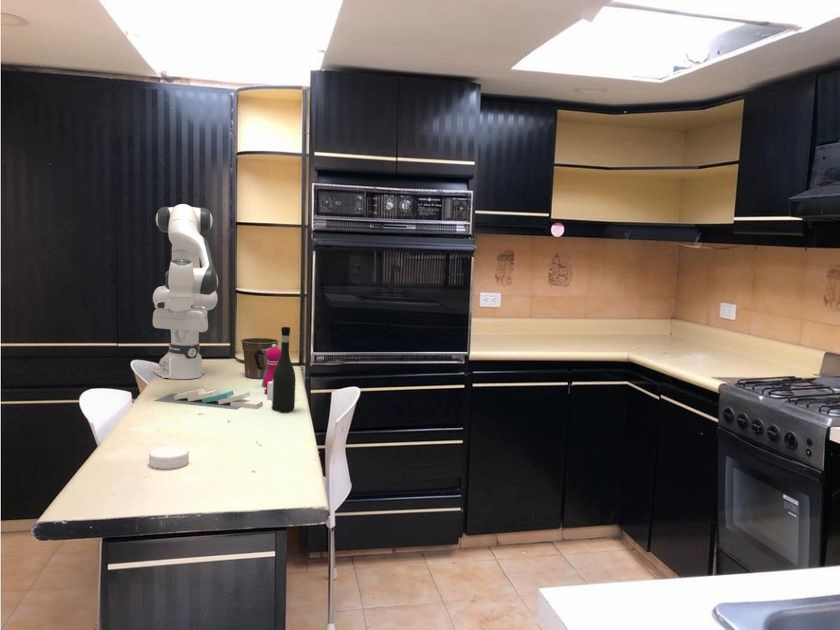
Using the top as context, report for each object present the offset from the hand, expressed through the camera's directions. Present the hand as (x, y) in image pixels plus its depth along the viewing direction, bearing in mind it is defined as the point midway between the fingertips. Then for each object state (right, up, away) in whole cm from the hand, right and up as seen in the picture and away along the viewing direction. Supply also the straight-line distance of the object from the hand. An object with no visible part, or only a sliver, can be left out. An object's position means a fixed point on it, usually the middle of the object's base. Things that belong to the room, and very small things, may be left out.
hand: (180, 342), depth 243 cm
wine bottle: (+38, -24, -4) cm, 46 cm away
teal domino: (+9, -21, 0) cm, 23 cm away
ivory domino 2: (+4, -21, +1) cm, 21 cm away
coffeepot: (+25, -20, +33) cm, 46 cm away
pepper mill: (+29, -21, +19) cm, 41 cm away
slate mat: (+8, -22, 0) cm, 23 cm away
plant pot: (+16, -17, +51) cm, 56 cm away
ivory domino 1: (-2, -20, +2) cm, 20 cm away
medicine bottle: (+34, -23, +10) cm, 42 cm away
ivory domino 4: (+20, -22, -2) cm, 30 cm away
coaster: (+20, -30, -65) cm, 74 cm away
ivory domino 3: (+15, -21, -1) cm, 26 cm away
